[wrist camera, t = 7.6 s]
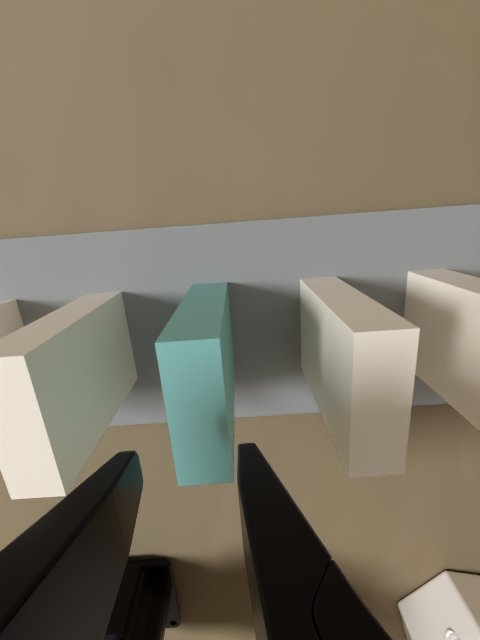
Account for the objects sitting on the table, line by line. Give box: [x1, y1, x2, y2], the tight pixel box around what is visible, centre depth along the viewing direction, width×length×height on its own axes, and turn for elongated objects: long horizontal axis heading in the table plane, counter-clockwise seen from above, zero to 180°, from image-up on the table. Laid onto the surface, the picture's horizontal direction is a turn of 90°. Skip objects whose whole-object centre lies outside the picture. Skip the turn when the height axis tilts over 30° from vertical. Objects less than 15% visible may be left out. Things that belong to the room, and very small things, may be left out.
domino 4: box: [404, 269, 480, 431], centre depth 13 cm, size 2×5×8 cm, turn 4°
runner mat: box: [0, 204, 480, 426], centre depth 17 cm, size 11×37×1 cm, turn 94°
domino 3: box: [300, 276, 420, 478], centre depth 13 cm, size 2×5×8 cm, turn 4°
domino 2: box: [155, 282, 235, 486], centre depth 13 cm, size 2×5×8 cm, turn 4°
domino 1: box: [0, 292, 138, 499], centre depth 14 cm, size 2×5×8 cm, turn 4°
